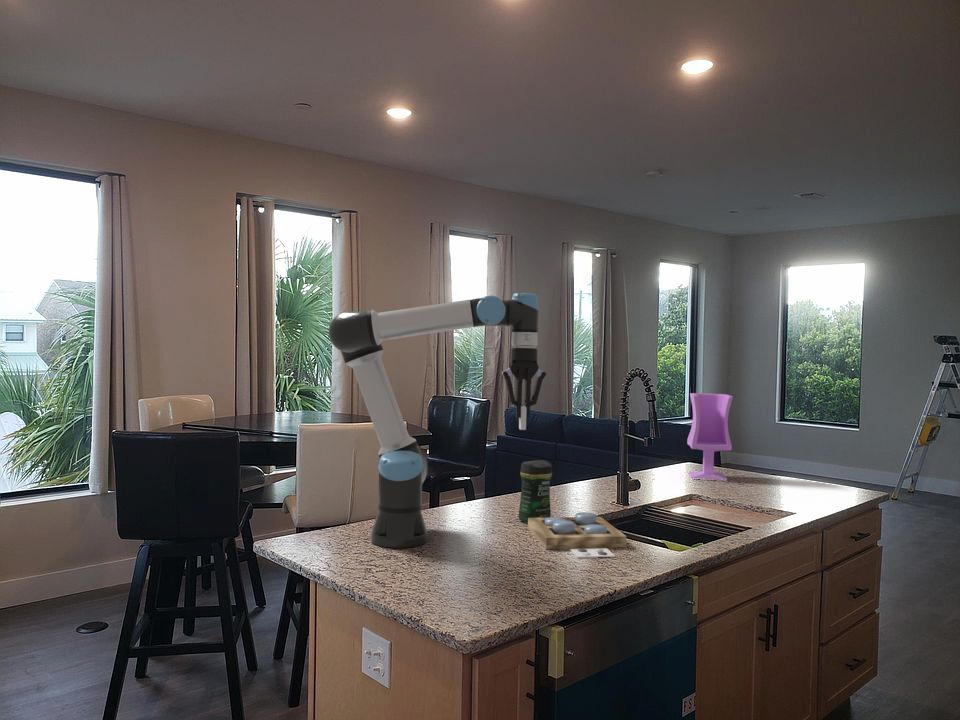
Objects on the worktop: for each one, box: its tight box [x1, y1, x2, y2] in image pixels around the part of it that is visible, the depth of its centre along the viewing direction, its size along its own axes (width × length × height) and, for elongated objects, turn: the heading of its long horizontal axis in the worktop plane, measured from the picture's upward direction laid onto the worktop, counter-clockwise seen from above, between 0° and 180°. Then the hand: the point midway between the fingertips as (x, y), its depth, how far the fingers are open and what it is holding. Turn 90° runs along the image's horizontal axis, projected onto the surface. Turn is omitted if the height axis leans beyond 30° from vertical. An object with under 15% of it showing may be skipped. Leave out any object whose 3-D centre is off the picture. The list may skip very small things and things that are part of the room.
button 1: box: [545, 516, 566, 526], centre depth 205 cm, size 6×6×2 cm
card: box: [569, 548, 616, 559], centre depth 185 cm, size 10×7×1 cm
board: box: [527, 516, 627, 550], centre depth 201 cm, size 22×22×3 cm
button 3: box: [574, 512, 597, 526], centre depth 206 cm, size 6×6×2 cm
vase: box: [686, 392, 734, 479], centre depth 300 cm, size 16×16×35 cm
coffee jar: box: [518, 459, 553, 524], centre depth 218 cm, size 10×8×19 cm
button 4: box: [584, 524, 607, 534], centre depth 197 cm, size 6×6×2 cm
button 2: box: [553, 520, 575, 535], centre depth 196 cm, size 6×6×2 cm
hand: (522, 429), depth 206 cm, fingers closed
